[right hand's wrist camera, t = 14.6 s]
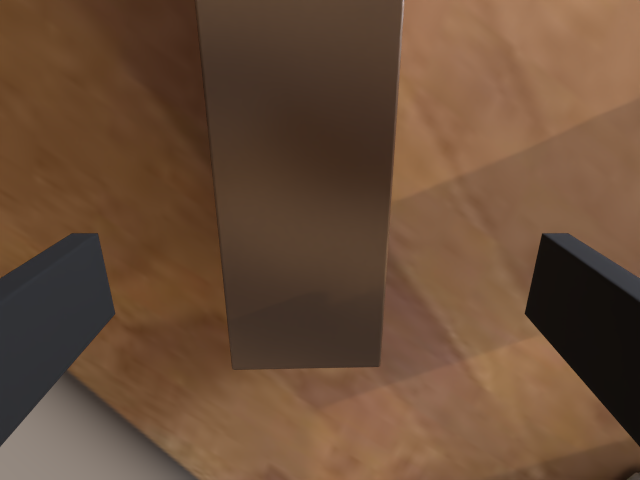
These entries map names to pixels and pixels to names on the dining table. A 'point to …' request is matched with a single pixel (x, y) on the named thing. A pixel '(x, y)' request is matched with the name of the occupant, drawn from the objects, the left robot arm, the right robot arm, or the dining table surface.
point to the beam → (302, 173)
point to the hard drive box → (634, 477)
